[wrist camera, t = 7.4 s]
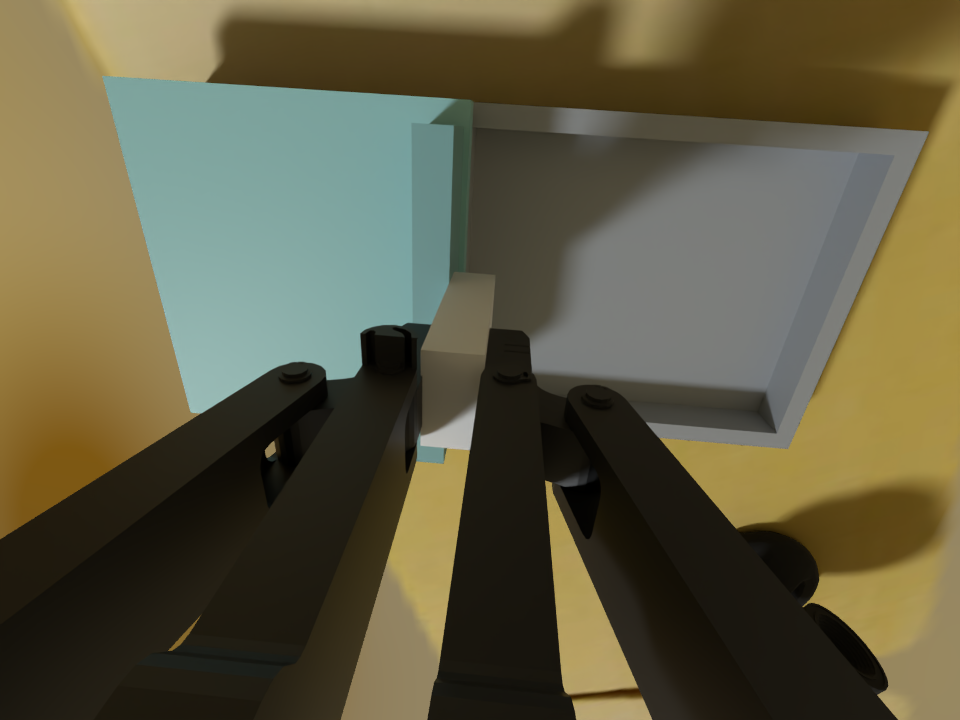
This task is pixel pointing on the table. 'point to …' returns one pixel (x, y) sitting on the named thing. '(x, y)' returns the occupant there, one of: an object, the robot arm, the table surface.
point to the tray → (680, 254)
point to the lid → (292, 220)
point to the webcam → (801, 582)
